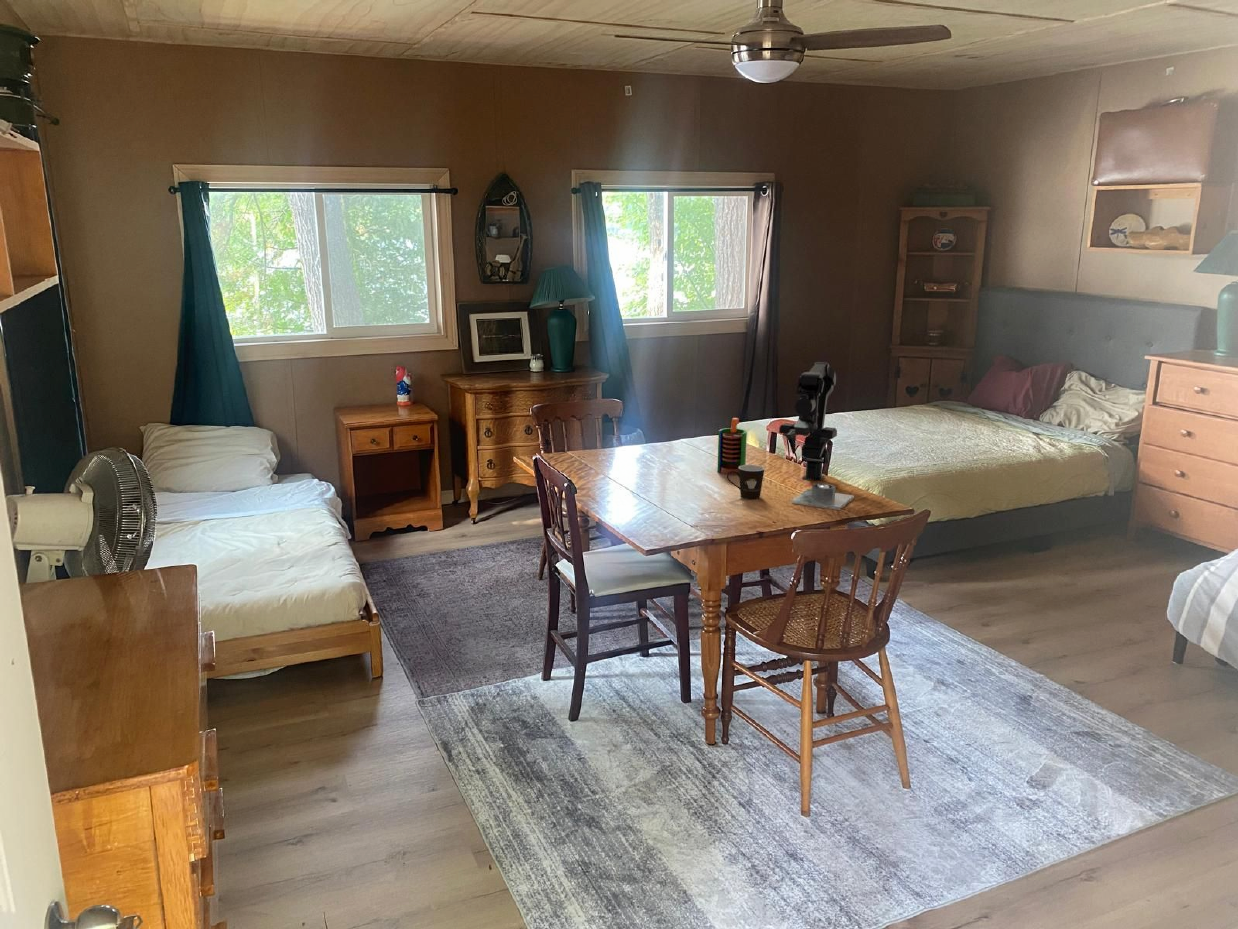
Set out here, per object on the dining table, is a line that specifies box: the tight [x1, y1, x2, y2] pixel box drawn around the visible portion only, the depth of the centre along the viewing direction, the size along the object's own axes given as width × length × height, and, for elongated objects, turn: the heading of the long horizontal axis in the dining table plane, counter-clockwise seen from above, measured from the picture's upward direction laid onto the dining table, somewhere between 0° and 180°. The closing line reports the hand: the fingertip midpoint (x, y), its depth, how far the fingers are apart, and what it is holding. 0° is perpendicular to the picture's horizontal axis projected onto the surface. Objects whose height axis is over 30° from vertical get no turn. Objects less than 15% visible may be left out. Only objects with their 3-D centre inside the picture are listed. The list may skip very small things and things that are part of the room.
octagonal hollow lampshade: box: [811, 482, 836, 501], centre depth 311 cm, size 7×7×4 cm
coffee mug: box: [726, 464, 765, 500], centre depth 315 cm, size 12×9×10 cm
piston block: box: [791, 485, 855, 511], centre depth 311 cm, size 16×16×5 cm
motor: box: [717, 417, 748, 476], centre depth 345 cm, size 10×9×20 cm
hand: (806, 455), depth 323 cm, fingers open, 9 cm apart
